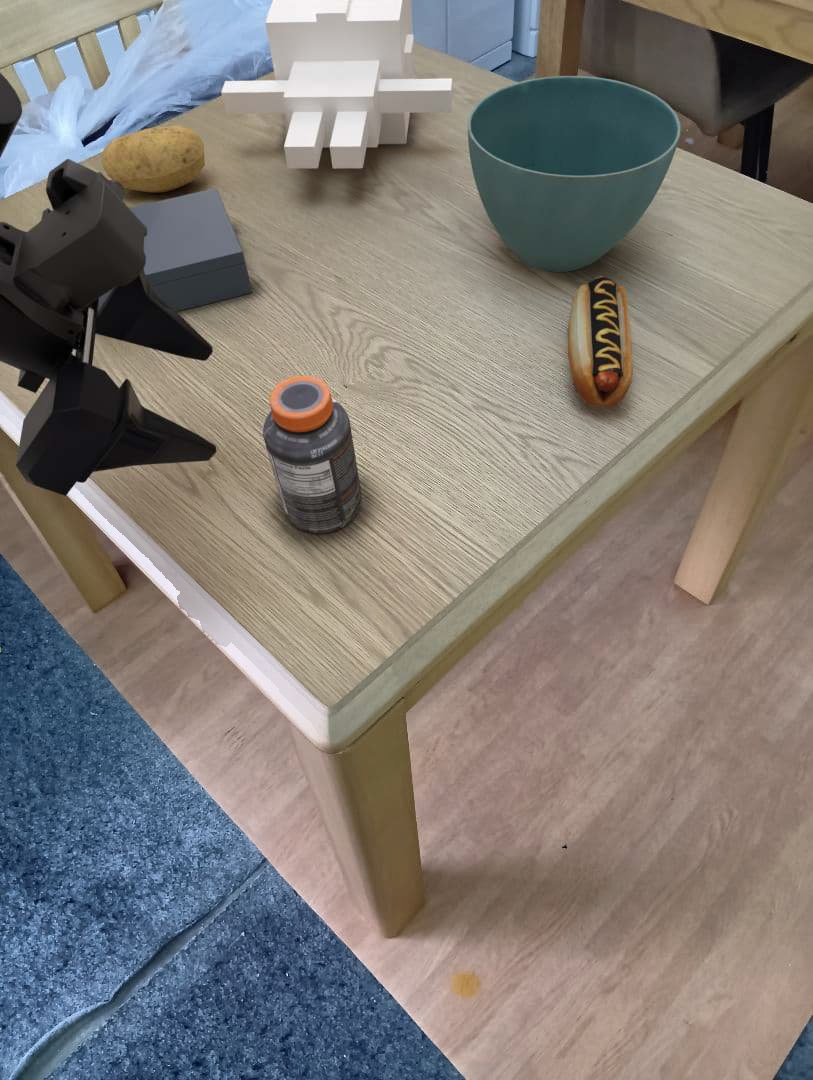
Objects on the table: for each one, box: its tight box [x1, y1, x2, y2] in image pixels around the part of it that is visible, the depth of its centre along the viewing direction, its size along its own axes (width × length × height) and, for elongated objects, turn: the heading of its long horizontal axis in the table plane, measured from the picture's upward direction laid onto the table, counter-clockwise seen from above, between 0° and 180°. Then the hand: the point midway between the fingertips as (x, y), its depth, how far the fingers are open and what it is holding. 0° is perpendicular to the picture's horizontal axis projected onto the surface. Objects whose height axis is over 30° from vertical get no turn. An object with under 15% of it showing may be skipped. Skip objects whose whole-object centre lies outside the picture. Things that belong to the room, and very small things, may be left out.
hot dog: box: [567, 275, 633, 408], centre depth 66 cm, size 5×13×5 cm, turn 174°
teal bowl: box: [467, 75, 682, 273], centre depth 73 cm, size 18×18×12 cm
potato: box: [101, 125, 206, 194], centre depth 86 cm, size 7×11×6 cm, turn 94°
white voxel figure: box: [220, 0, 453, 169], centre depth 87 cm, size 15×25×28 cm
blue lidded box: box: [128, 187, 253, 313], centre depth 76 cm, size 14×12×4 cm
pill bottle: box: [262, 374, 363, 534], centre depth 55 cm, size 6×6×11 cm
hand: (211, 401), depth 50 cm, fingers open, 9 cm apart
